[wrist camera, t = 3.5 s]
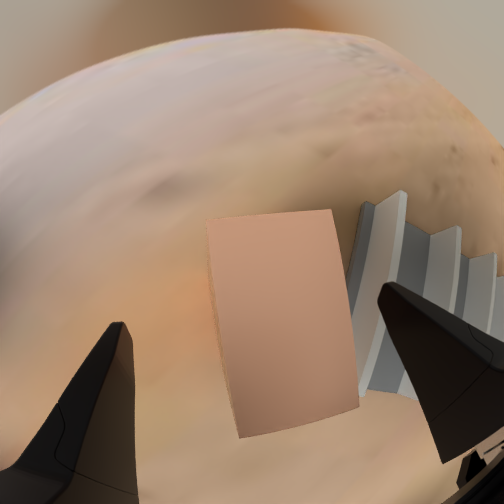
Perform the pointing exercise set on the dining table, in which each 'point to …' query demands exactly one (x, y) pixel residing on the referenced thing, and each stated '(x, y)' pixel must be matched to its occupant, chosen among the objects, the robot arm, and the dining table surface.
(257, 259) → the salmon rectangular block
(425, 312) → the robot arm
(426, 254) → the rack
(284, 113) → the dining table surface
